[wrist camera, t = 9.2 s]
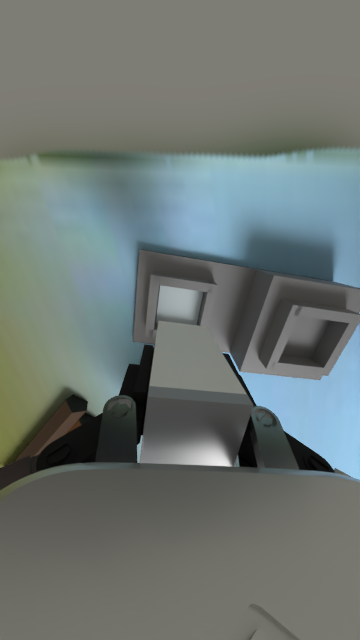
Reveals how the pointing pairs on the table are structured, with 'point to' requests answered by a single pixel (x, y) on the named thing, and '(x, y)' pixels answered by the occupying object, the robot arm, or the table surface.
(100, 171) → the table surface
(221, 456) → the plug
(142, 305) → the stepped socket base
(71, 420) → the pan flute
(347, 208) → the table surface
